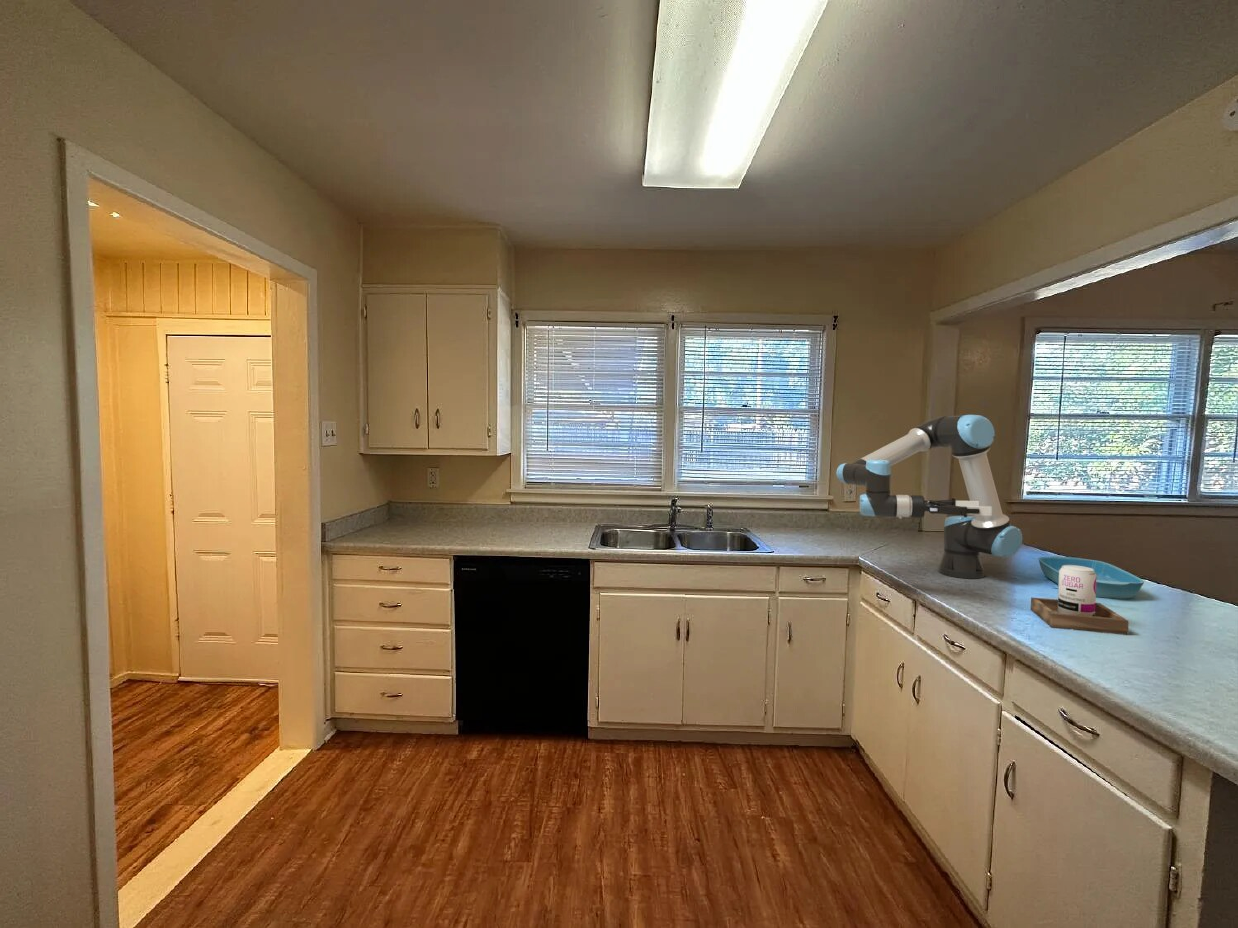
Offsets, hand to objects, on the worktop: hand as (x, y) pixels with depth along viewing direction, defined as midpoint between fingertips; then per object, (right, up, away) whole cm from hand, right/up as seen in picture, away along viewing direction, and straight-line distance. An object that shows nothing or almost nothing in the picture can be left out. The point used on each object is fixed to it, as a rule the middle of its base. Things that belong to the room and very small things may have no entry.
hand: (984, 508), depth 168 cm
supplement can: (+17, -31, -15) cm, 38 cm away
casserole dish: (+50, -30, +19) cm, 62 cm away
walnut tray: (+17, -32, -15) cm, 39 cm away
